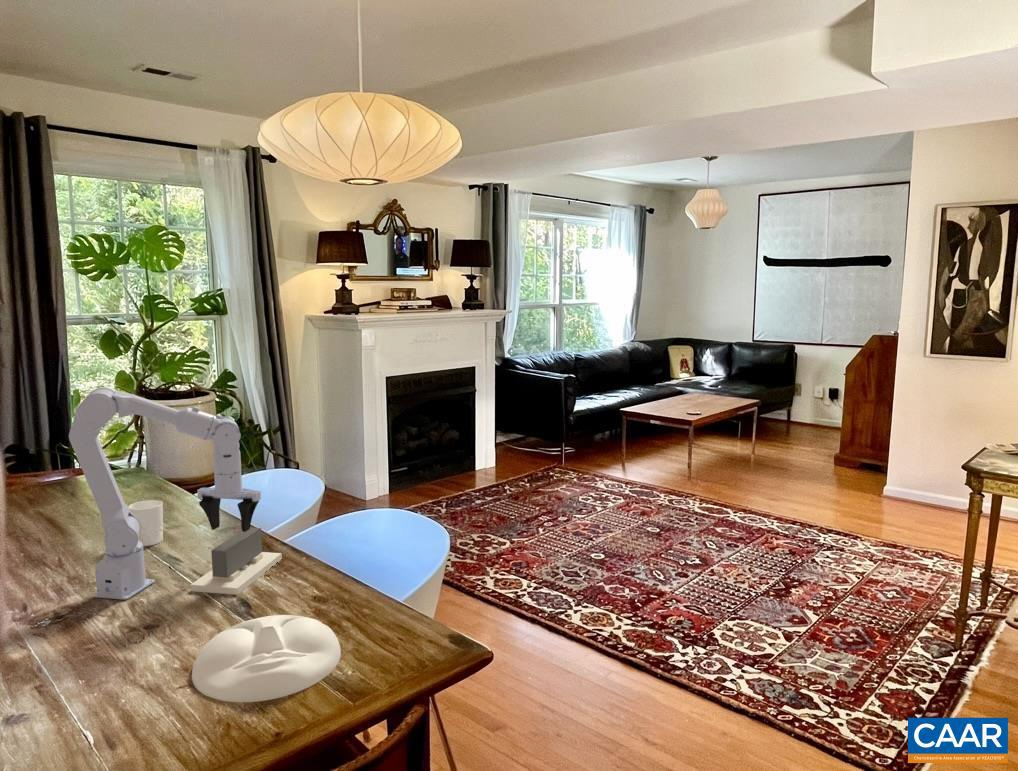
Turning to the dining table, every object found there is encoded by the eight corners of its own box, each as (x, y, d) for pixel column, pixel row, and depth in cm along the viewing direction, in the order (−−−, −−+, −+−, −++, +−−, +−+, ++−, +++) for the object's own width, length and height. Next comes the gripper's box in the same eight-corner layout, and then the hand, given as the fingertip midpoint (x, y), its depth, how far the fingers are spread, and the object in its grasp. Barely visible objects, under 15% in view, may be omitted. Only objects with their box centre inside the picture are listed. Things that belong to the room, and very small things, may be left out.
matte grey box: (227, 577, 154) (226, 551, 153) (212, 576, 154) (211, 550, 153) (262, 552, 168) (261, 528, 167) (248, 551, 169) (247, 527, 168)
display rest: (237, 594, 151) (237, 583, 150) (190, 591, 153) (190, 580, 152) (282, 559, 170) (281, 549, 170) (240, 556, 172) (239, 546, 172)
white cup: (140, 550, 176) (137, 511, 175) (125, 543, 181) (122, 505, 179) (171, 540, 182) (168, 503, 181) (156, 534, 187) (153, 498, 186)
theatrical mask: (184, 670, 108) (192, 602, 131) (187, 718, 109) (195, 642, 132) (349, 640, 117) (329, 581, 140) (350, 685, 118) (331, 619, 141)
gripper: (266, 468, 162) (268, 525, 164) (208, 465, 164) (212, 521, 166) (250, 476, 155) (253, 535, 157) (190, 473, 157) (193, 531, 159)
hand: (230, 529), depth 161 cm, fingers open, 7 cm apart
